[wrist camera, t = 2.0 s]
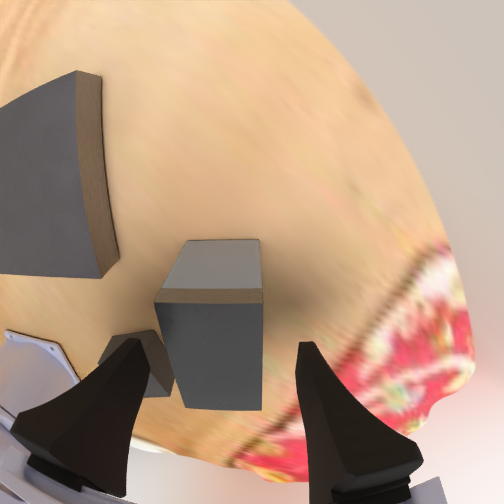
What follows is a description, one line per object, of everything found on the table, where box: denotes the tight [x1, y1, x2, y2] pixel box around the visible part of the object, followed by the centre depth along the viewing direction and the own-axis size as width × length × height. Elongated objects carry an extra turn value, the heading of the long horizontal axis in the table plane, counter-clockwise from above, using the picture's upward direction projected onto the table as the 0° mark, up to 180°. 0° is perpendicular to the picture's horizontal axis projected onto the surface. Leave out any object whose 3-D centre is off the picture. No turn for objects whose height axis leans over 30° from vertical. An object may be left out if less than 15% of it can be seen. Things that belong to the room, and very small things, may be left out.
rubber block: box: [98, 330, 175, 398], centre depth 17 cm, size 4×4×3 cm
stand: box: [0, 70, 119, 279], centre depth 12 cm, size 11×11×2 cm
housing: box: [154, 239, 263, 411], centre depth 14 cm, size 4×7×6 cm, turn 1°
